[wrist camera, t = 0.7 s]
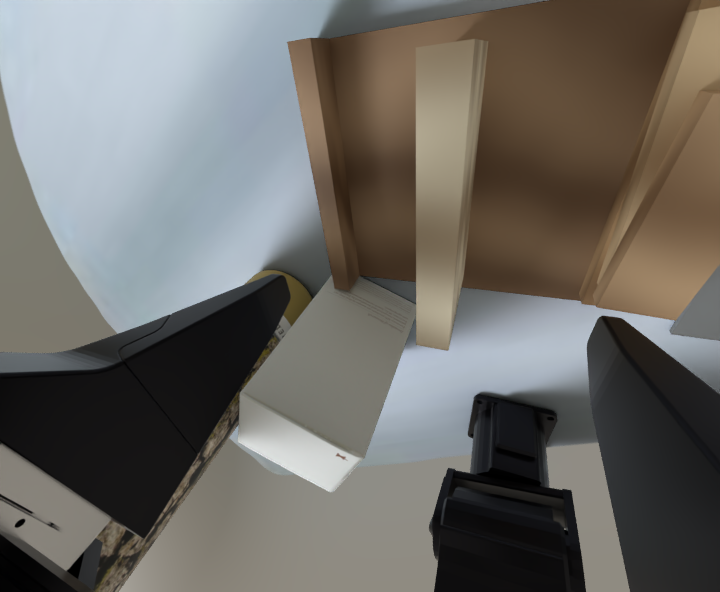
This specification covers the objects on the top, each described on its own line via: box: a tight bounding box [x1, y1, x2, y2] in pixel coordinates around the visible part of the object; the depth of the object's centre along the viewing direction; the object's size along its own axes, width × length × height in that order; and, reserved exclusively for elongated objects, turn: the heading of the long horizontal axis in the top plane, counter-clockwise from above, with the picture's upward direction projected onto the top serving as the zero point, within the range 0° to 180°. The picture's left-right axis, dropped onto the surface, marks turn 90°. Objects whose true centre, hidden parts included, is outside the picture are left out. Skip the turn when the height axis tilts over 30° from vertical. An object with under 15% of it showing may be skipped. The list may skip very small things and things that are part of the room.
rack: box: [287, 0, 690, 301], centre depth 16 cm, size 14×19×3 cm
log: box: [93, 270, 312, 592], centre depth 20 cm, size 7×7×25 cm
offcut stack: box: [579, 0, 720, 320], centre depth 13 cm, size 13×4×3 cm, turn 7°
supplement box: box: [238, 275, 416, 492], centre depth 22 cm, size 7×7×13 cm
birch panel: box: [416, 39, 488, 351], centre depth 15 cm, size 12×2×7 cm, turn 7°
